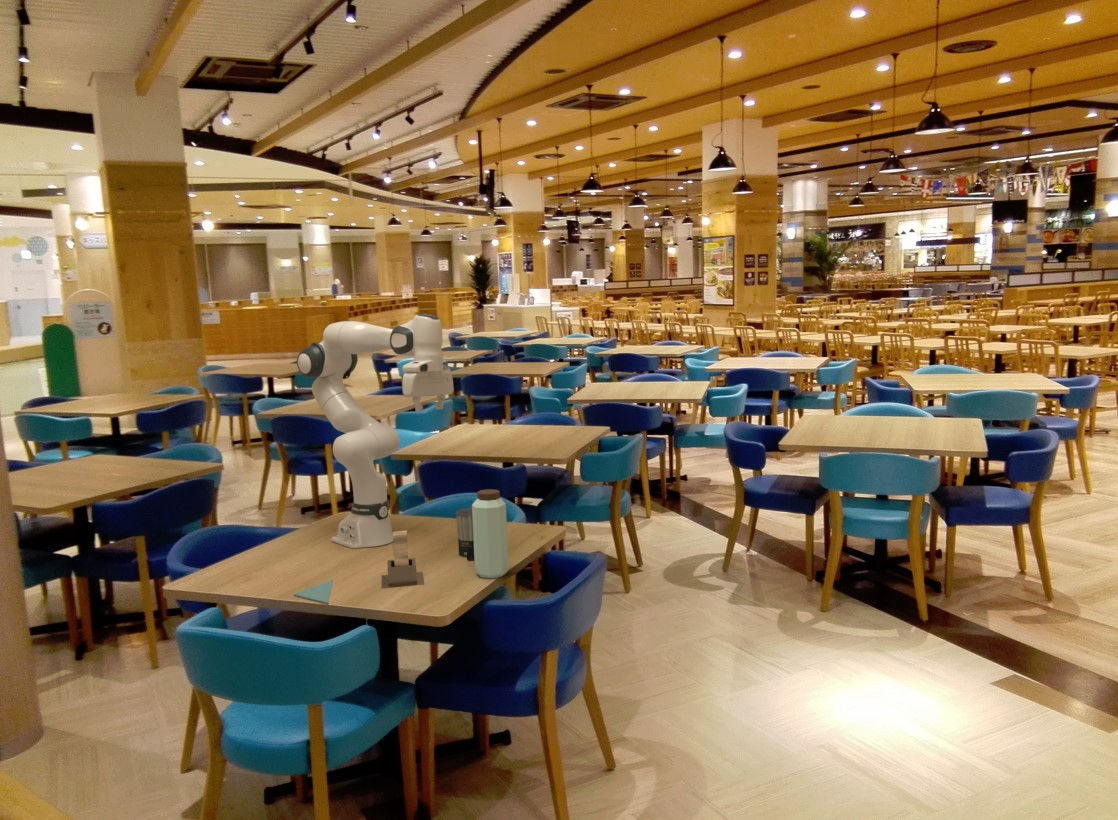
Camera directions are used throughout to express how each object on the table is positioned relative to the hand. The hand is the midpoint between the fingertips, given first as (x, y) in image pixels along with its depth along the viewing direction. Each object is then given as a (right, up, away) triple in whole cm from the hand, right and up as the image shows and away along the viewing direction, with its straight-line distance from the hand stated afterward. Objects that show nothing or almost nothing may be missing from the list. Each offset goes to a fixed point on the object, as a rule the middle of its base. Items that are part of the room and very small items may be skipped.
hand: (429, 410), depth 271 cm
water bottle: (+21, -49, -13) cm, 55 cm away
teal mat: (-23, -52, -24) cm, 62 cm away
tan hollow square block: (-5, -50, -19) cm, 54 cm away
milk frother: (+16, -46, +8) cm, 49 cm away
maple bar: (-5, -49, -19) cm, 53 cm away
